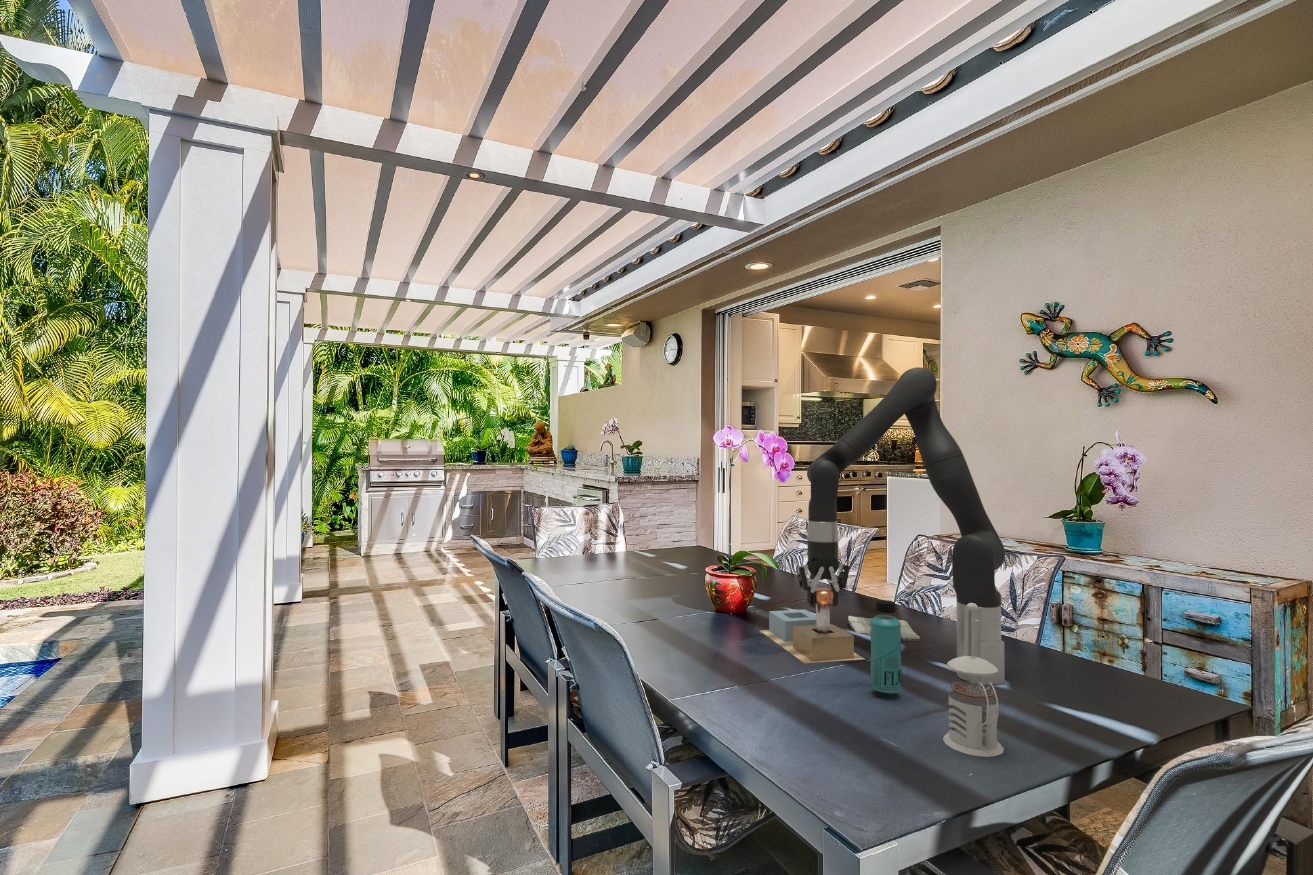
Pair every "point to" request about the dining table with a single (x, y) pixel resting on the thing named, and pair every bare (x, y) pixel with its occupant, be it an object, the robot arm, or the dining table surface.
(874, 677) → the beverage bottle
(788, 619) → the socket block
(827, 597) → the steel peg
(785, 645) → the oak board
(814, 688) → the dining table surface
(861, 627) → the dish towel
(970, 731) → the french press
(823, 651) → the tan holed block
